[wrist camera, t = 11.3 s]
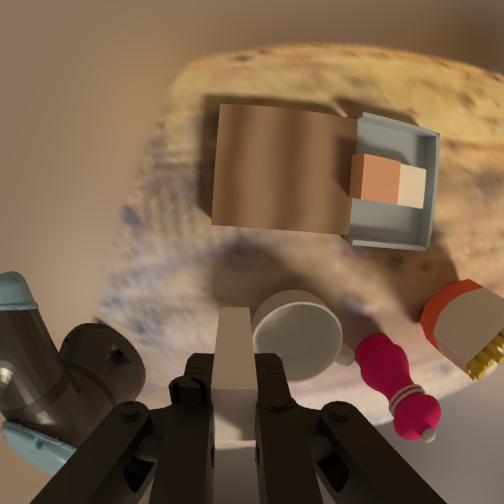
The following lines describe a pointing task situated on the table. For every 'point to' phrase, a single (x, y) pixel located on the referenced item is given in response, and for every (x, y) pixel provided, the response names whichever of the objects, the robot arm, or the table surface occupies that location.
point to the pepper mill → (398, 388)
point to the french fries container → (466, 326)
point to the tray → (386, 214)
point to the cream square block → (411, 186)
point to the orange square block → (374, 178)
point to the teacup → (300, 334)
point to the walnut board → (283, 169)
